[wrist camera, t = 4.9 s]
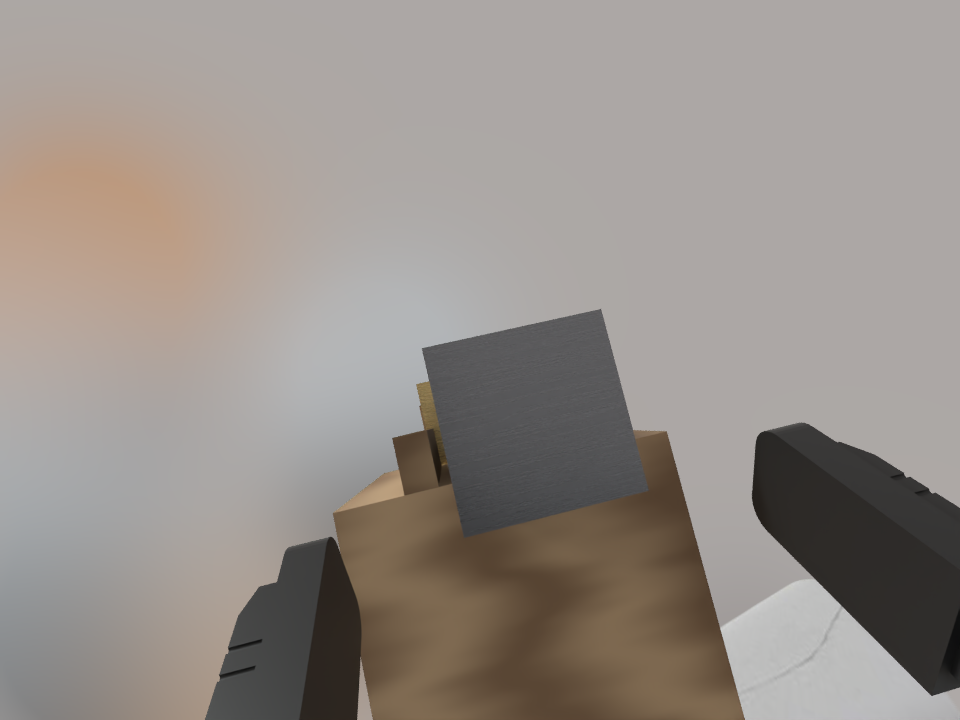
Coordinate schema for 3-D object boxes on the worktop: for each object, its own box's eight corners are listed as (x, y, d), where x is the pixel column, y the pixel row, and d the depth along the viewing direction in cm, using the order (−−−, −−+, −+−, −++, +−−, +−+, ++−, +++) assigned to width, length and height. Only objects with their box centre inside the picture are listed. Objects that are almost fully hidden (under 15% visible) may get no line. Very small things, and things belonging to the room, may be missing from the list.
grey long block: (408, 552, 9) (358, 308, 9) (435, 462, 30) (419, 388, 30) (699, 478, 9) (636, 249, 10) (525, 441, 30) (508, 368, 31)
